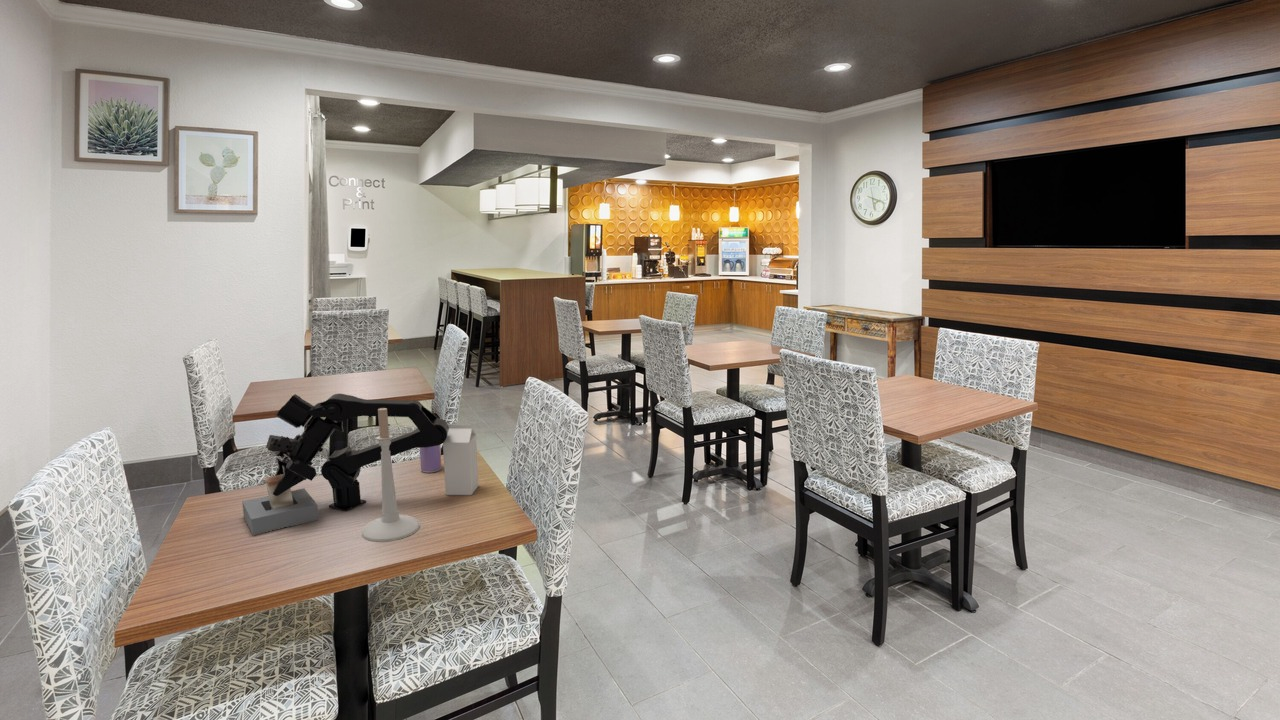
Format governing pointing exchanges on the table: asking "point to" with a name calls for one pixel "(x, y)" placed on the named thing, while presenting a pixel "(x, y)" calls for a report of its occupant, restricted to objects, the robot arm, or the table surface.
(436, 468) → the beverage can
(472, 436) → the milk carton
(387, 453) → the candlestick
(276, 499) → the peg
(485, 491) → the table surface
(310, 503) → the socket block
